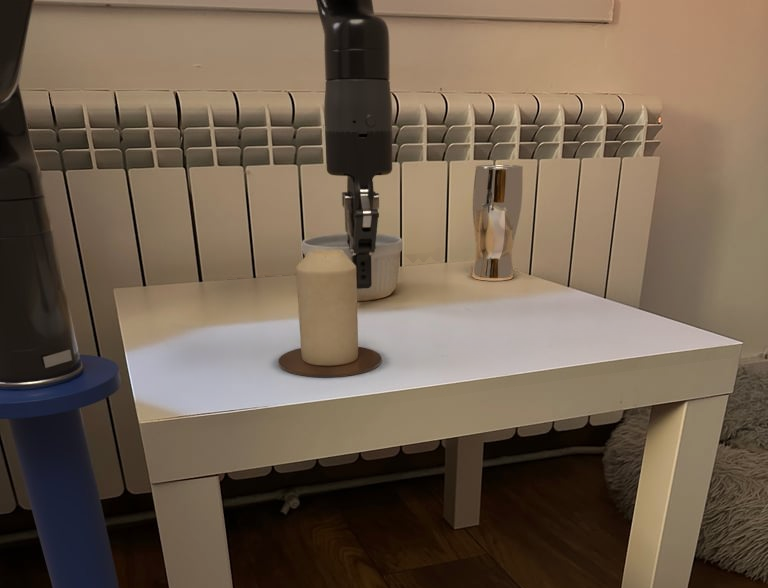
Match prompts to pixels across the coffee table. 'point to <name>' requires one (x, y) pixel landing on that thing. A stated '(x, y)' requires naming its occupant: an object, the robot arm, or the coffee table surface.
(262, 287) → the coffee table surface
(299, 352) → the coaster
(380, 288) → the ramekin
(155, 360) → the coffee table surface
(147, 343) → the coffee table surface
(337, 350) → the candle
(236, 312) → the coffee table surface
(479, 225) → the beer glass
